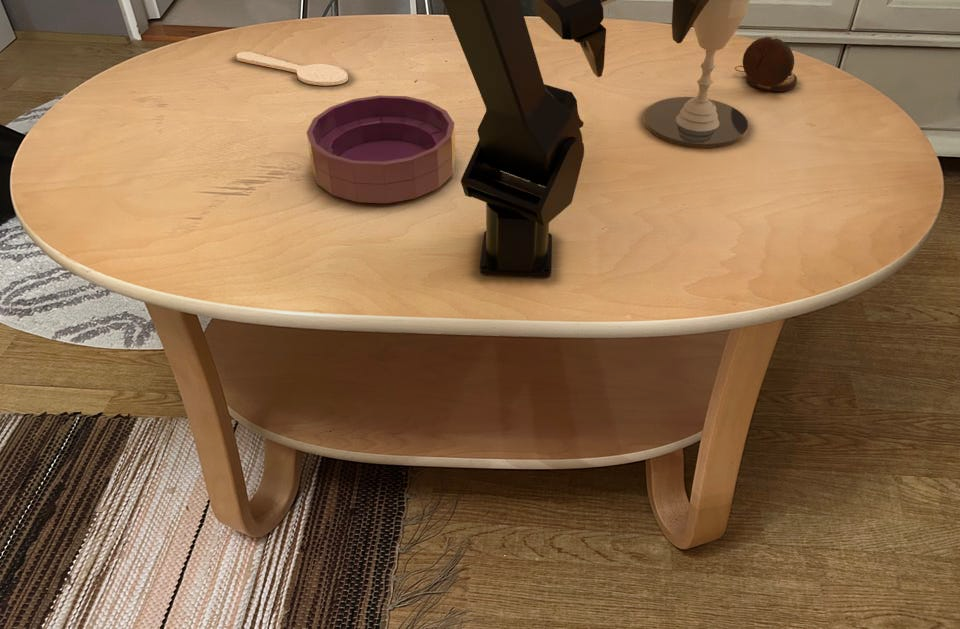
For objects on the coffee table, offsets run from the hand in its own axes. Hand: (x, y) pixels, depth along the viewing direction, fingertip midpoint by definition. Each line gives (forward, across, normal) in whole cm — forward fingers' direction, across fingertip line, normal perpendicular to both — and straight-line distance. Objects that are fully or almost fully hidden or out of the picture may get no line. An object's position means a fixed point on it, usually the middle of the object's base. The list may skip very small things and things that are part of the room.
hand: (637, 57), depth 80 cm
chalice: (+14, -10, -2) cm, 17 cm away
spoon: (+11, +30, -38) cm, 50 cm away
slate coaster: (+15, -10, -3) cm, 18 cm away
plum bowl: (+8, +27, -8) cm, 29 cm away
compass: (+19, -24, -8) cm, 31 cm away
